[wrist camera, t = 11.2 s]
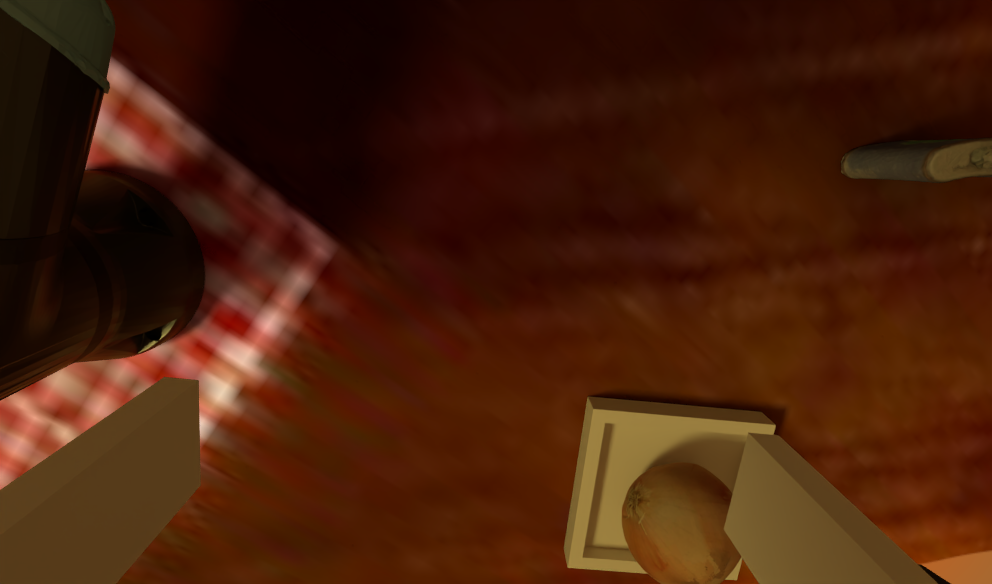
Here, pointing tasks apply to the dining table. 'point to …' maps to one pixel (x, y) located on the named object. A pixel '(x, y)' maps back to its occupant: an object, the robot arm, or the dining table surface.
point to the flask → (921, 160)
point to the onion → (679, 525)
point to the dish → (644, 466)
